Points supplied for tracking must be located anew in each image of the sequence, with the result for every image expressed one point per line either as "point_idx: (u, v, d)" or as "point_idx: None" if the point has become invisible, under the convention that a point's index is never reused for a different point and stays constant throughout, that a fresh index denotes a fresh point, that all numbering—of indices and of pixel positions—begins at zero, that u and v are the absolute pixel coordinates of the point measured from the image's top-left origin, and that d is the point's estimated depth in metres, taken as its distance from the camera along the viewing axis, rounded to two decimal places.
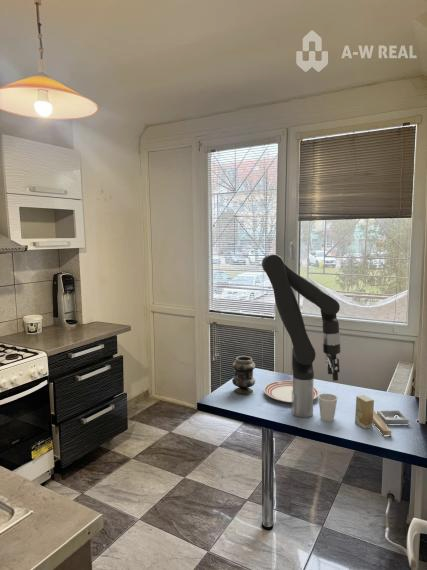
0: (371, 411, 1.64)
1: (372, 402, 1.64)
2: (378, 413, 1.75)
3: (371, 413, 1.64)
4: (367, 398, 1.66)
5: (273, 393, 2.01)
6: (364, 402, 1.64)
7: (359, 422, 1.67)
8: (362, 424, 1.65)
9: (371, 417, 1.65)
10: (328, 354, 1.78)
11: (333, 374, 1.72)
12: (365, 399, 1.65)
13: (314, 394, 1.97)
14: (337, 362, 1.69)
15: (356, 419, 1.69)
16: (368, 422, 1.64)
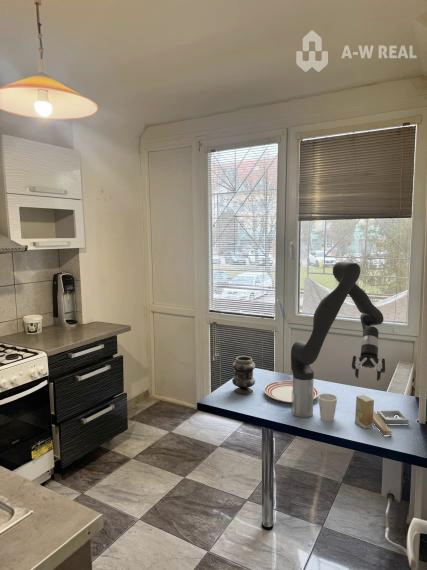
0: (371, 411, 1.64)
1: (372, 402, 1.64)
2: (378, 413, 1.75)
3: (371, 413, 1.64)
4: (367, 398, 1.66)
5: (273, 393, 2.01)
6: (364, 402, 1.64)
7: (359, 422, 1.67)
8: (362, 424, 1.65)
9: (371, 417, 1.65)
10: (364, 357, 1.82)
11: (378, 373, 1.75)
12: (365, 399, 1.65)
13: (314, 394, 1.97)
14: (384, 363, 1.79)
15: (356, 419, 1.69)
16: (368, 422, 1.64)
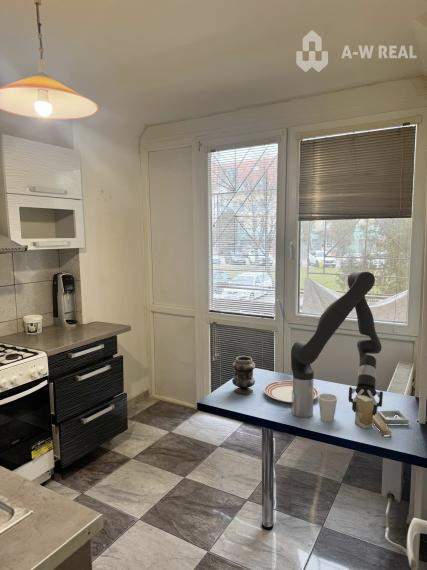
0: (371, 411, 1.64)
1: (372, 402, 1.64)
2: (378, 413, 1.75)
3: (371, 413, 1.64)
4: (367, 398, 1.66)
5: (273, 393, 2.01)
6: (364, 402, 1.64)
7: (359, 422, 1.67)
8: (362, 424, 1.65)
9: (371, 417, 1.65)
10: (361, 388, 1.71)
11: (375, 407, 1.65)
12: (365, 399, 1.65)
13: (314, 394, 1.97)
14: (382, 396, 1.68)
15: (356, 419, 1.69)
16: (368, 422, 1.64)
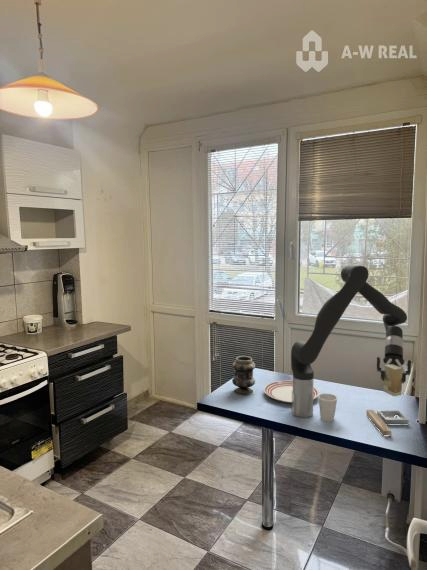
0: (400, 379, 1.67)
1: (401, 370, 1.67)
2: (378, 413, 1.75)
3: (400, 381, 1.67)
4: (396, 366, 1.69)
5: (273, 393, 2.01)
6: (393, 371, 1.67)
7: (388, 390, 1.70)
8: (392, 392, 1.68)
9: (400, 385, 1.68)
10: (389, 358, 1.74)
11: (404, 375, 1.68)
12: (394, 367, 1.68)
13: (314, 394, 1.97)
14: (410, 365, 1.71)
15: (385, 388, 1.72)
16: (397, 389, 1.68)
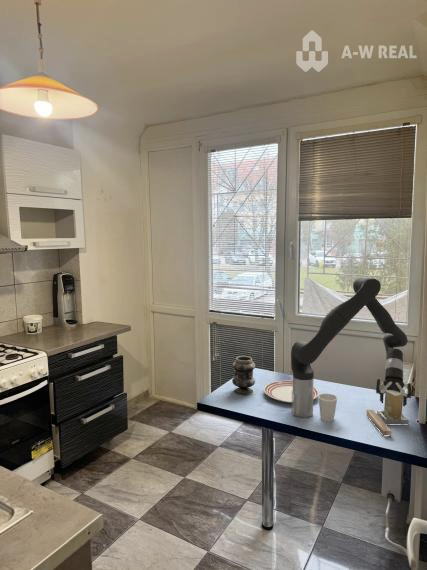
0: (400, 405, 1.69)
1: (401, 396, 1.68)
2: (378, 413, 1.75)
3: (400, 407, 1.69)
4: (396, 392, 1.70)
5: (273, 393, 2.01)
6: (393, 397, 1.68)
7: (388, 415, 1.71)
8: (392, 418, 1.69)
9: (400, 411, 1.69)
10: (389, 381, 1.76)
11: (405, 398, 1.69)
12: (394, 393, 1.69)
13: (314, 394, 1.97)
14: (410, 388, 1.73)
15: (385, 413, 1.73)
16: (397, 415, 1.69)
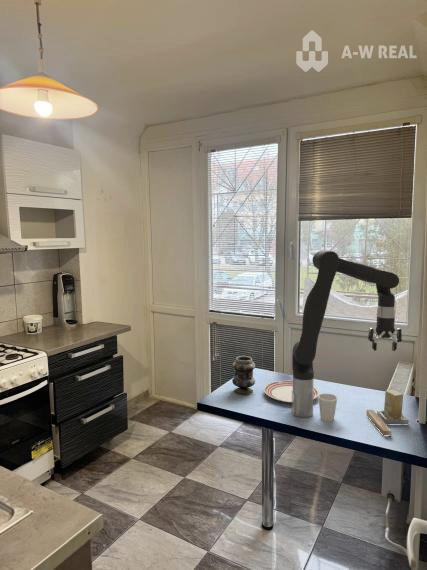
0: (400, 405, 1.69)
1: (401, 396, 1.68)
2: (378, 413, 1.75)
3: (400, 407, 1.69)
4: (396, 392, 1.70)
5: (273, 393, 2.01)
6: (393, 397, 1.68)
7: (388, 415, 1.71)
8: (392, 418, 1.69)
9: (400, 411, 1.69)
10: (382, 329, 1.79)
11: (395, 344, 1.80)
12: (394, 393, 1.69)
13: (314, 394, 1.97)
14: None
15: (385, 413, 1.73)
16: (397, 415, 1.69)
